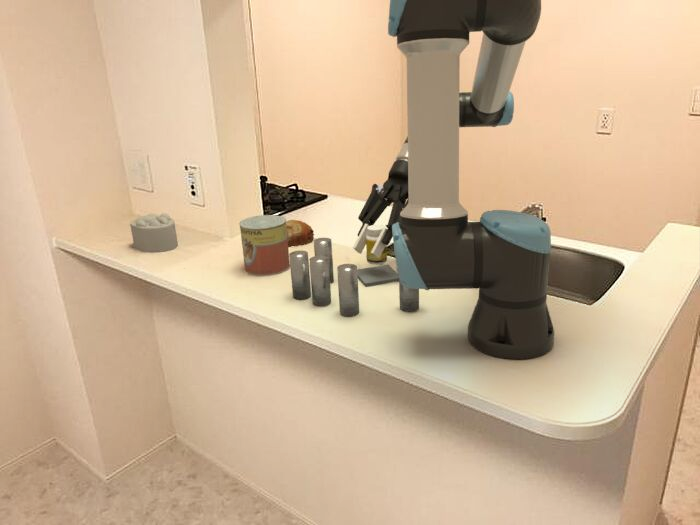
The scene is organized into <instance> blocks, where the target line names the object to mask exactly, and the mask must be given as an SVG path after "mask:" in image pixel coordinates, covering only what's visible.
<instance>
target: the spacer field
mask: <svg viewBox="0 0 700 525" xmlns="http://www.w3.org/2000/svg"><path fill="white" fill-rule="evenodd" d="M332 245H333V243H332V238H330V237H318V238H315V239H314V240H313V249H314V250H313V251H314V256H312V257H310V258H309V252H308V251H306V250H294V251H291V252H290V253H289V263H290V268H289V269H290V279H291V289H292V299H294V300H296V301H305V300H306V301H307V300H309V299H310V298H311V300H312V305H313V306H314V307H319V308H324V307H328V306H330V305H331V304H332V291H331V284H333V283H334V282H335V277H334V276H335V275H334V261H333V259H334V258H333V246H332ZM336 268H337V269H336V272H337V273H336V274H337V284H338V285H337V287H338V288H337V289H338V302H339V303H338V304H339V305H338V306H339V315H340V316H342V317H345V318H352V317H356V316H358V315H359V314H360V299H359V279H358V272H357V269H358V266H357V264H354V263H342V264H340V265H338V266H337V267H336ZM398 283H399V284H398V287H399V288H398V290H399V292H398V293H399V296H398V298H399V310H400V311H401V312H403V313H408V314H409V313H415V312H418V311H419V310H420V289H410V288H406V287H404V286H403V285H402V284H401V282H400V279H399V281H398Z"/></svg>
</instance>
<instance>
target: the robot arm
mask: <svg viewBox="0 0 700 525" xmlns="http://www.w3.org/2000/svg"><path fill="white" fill-rule="evenodd" d="M388 10H389V11H388V12H389V13H388V22H387V23H388V24H387V34H388V35H389V36H391V37H393V38H396V47H397V49H398V50H399V51H400V52H401V53H402V54H403V56H404V57H405V59H406V104H407V105H406V106H407V107H406V108H407V109H406V111H407V114H406V115H407V136H406V138H405V141H404V142H403V144H402V146H401V149H400V150H399V152H398V154H397V155H396V158H395V161H394V162H393V164H392V165H391V168H390V169H389V171H388V175H387V176H388V177H387V180H385V182H384V183H383V184H379V185H378V184H376V183H374V184H372V186H371V191H370V194H369V195H368V198H367V200H366V201H365V203H364V206H363V208H362V209H361V212H360V213H359V215H358V217H357V219H358V220H359V221H360V222H361V223H362V225H360V226H361V227H360V228H359V231H357V232H358V233H357V239H356V240H355V243H354V245H353V246H352V249H354V250H355V252H356V253H358V254H359V255H362V253H363V252H364V249H365V248H366V236H367V235H368V233H367V227H368V226H371V225H375V223H376V222H377V221H378V219H379V218H380V217H381V215H383V213H384V212H385V210H387V208H388V207H390V206H391V204H392V207H391V211H390V214H389V218H388V221H387V222H388V223H387V224H385V228H383V229H382V231H381V233H380V235H379V237H378V239H377V241H376V243H375V245H374V247H373V249H372V251H371V253H372V254H373V255H374V256H375V257H376V258H378V259H379V258H380V256H381V254H382V252H383V250H384V248H385V246H386V245H387V246H389V245H390V243H391V241H392V240H393V248H394V256H395V262H396V270H397V273H398V275H399V279H400V282H401V284H402V285H403V286H404V287H406V288H410V289H419V290H425V291H430V290H457V289H458V290H461V289H470V290H471V289H478V299H477V301H476V304H475V306H474V308H473V310H472V314H471V317H470V319H469V321H468V324H467V340H468V342H469V343H470V345H472V346H473V348H475V349H477V350H478V351H479V352H482V353H484V354H486V355H487V354H488V355H490V356H493V357H498V358H501V359H502V358H503V359H509V360H510V359H511V360H523V359H524V360H525V359H526V360H527V359H532V358H536V357H540V356H542V355H544V354H546V353H548V352H549V351H551V349H552V348H553V346H554V342H555V328H554V325H553V322H552V318H551V315H550V311H549V308H548V304H547V299H548V298H547V297H548V284H549V282H548V281H549V269H550V258H551V257H550V256H551V253H552V244H551V243H552V242H551V241H552V239H551V236H552V235H551V233H552V232H551V229H550V226H549V225H548V223H547V222H545V221H544V219H543V220H542V219H541V218H540V217H537V216H535V215H532V214H529V213H525V212H523V211H522V212H520V211H515V210H510V209H508V210H506V209H493V210H487V211H484V212H483V213H481V216H480V217H479V221H469V212H468V210H467V209H466V208H465V207H464V206H463V205H462V204H461V203H460V128H483V127H487V128H488V127H489V128H496V127H501V126H508V125H510V124H511V123H512V121H513V119H514V112H515V110H514V109H515V102H514V100H515V99H514V95H513V92H511V91H510V89H511V88H512V84H513V80H514V78H515V75H516V71H517V69H518V66H519V63H520V59H521V57H522V54H523V50H524V47H525V45H526V43H527V41H528V40H530V39H531V37H533V36H534V34H535V32H536V30H537V27H538V24H539V22H540V18H541V15H542V0H389V9H388ZM476 32H477V33H478V32H482V39H481V43H480V46H479V47H480V48H479V53H478V58H477V64H476V68H475V72H474V78H473V82H472V88H471V91H467V92H465V91H464V92H463V91H462V92H460V66H461V65H460V62H461V61H460V59H461V58H460V57H461V54H462V52H463V51H464V50H465V49H466V48H467V47H468V46H469V44H470V33H476Z"/></svg>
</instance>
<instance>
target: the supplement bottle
mask: <svg viewBox="0 0 700 525" xmlns="http://www.w3.org/2000/svg"><path fill="white" fill-rule="evenodd" d="M383 228H386V226H384V225H383V224H374V225H371V226H368V227H367V233H368V235H367V236H366V245H365V248H366V262H367V263H368V264H369V265H372V266H382V265H385V264H386V263H387V261H388V245H386V246H385V248H384V250H383V252H382V254H381V256H380V258H379V259H378V258H376V257H375V256H374V255H373V254H372V253H371V251H372V249H373V247H374V245H375V243H376V241H377V239H378V237H379V235H380V233H381V231H382V229H383Z"/></svg>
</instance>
